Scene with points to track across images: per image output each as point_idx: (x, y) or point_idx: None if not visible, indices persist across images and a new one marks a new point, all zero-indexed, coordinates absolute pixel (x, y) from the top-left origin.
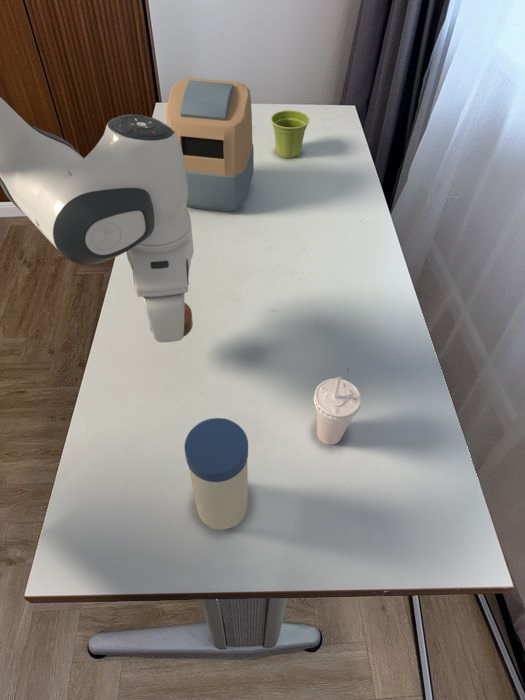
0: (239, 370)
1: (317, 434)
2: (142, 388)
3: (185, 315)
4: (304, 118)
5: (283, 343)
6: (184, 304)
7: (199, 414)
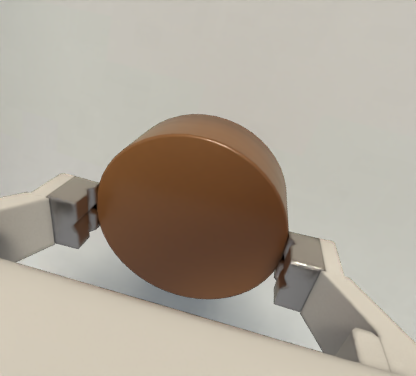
0: None
1: None
2: (149, 18)
3: (162, 274)
4: None
5: None
6: (226, 291)
7: (60, 137)
